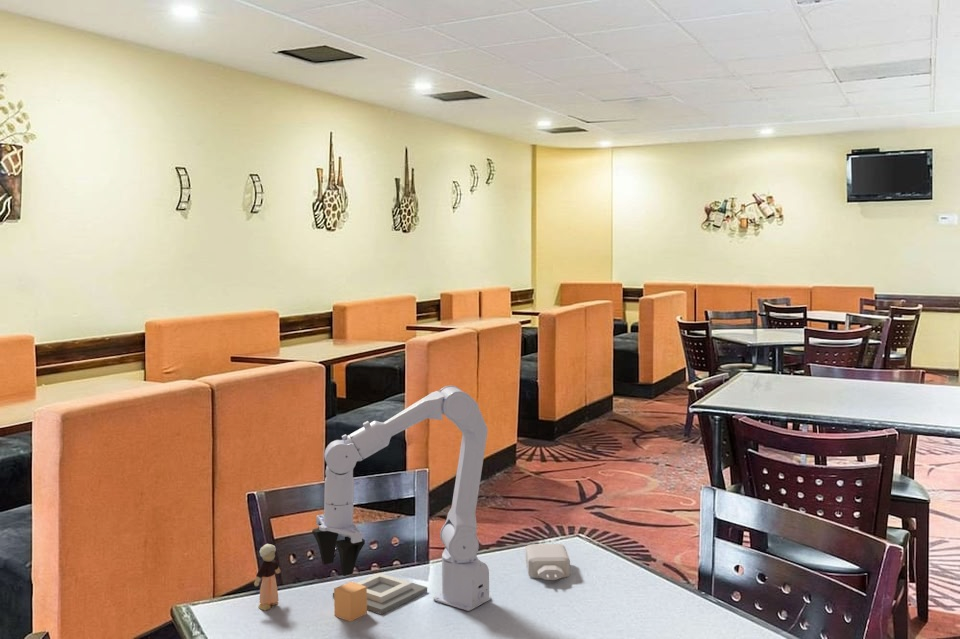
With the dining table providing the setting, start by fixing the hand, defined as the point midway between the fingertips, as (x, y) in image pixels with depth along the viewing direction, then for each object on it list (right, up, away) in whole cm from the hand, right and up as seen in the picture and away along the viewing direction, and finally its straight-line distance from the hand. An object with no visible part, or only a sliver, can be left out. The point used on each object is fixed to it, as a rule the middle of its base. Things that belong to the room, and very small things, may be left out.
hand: (337, 568), depth 160 cm
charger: (+44, -8, +20) cm, 49 cm away
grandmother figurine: (-15, -9, +5) cm, 18 cm away
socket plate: (+7, -8, +9) cm, 14 cm away
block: (+3, -9, 0) cm, 9 cm away
